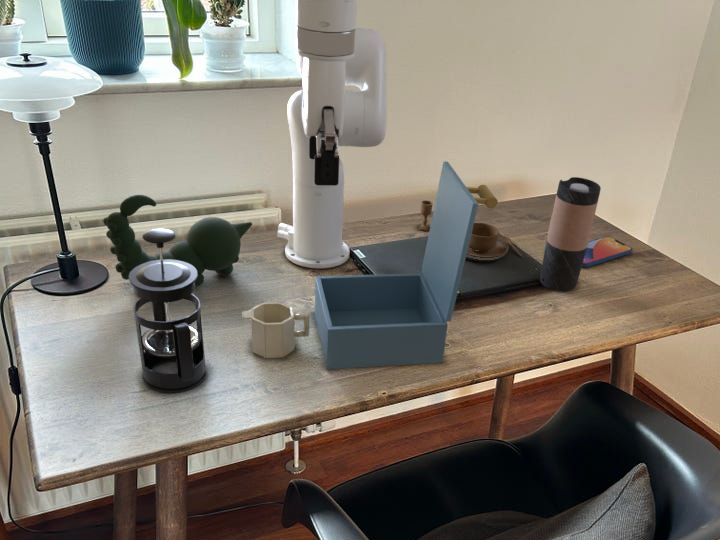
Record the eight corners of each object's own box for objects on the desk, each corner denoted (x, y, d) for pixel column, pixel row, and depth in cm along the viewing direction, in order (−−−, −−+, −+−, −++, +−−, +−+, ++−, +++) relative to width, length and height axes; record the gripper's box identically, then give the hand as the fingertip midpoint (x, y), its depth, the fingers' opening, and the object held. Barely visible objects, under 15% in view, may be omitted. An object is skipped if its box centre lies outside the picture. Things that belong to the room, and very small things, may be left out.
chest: (326, 369, 114) (327, 329, 110) (314, 313, 127) (315, 276, 123) (442, 362, 118) (448, 324, 114) (419, 309, 131) (423, 273, 127)
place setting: (450, 268, 145) (454, 241, 142) (413, 226, 160) (415, 200, 157) (528, 260, 151) (533, 233, 148) (485, 220, 166) (489, 195, 163)
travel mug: (577, 295, 140) (602, 195, 129) (537, 288, 141) (558, 189, 130) (577, 276, 147) (601, 180, 135) (539, 270, 148) (559, 174, 136)
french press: (132, 364, 111) (110, 223, 98) (192, 348, 116) (179, 211, 103) (158, 407, 104) (138, 260, 91) (221, 388, 108) (211, 246, 95)
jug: (245, 359, 115) (243, 325, 111) (243, 336, 120) (242, 303, 116) (311, 355, 117) (311, 322, 113) (306, 333, 122) (307, 300, 119)
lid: (473, 203, 103) (513, 206, 105) (443, 161, 116) (479, 164, 118) (445, 321, 114) (482, 322, 115) (421, 270, 127) (454, 272, 128)
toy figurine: (136, 317, 125) (268, 273, 137) (110, 215, 113) (257, 177, 125) (117, 293, 131) (245, 252, 143) (91, 193, 120) (232, 158, 131)
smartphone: (558, 254, 155) (559, 249, 154) (607, 239, 162) (608, 235, 161) (583, 269, 150) (584, 264, 149) (633, 253, 157) (634, 249, 156)
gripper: (292, 25, 100) (292, 149, 110) (300, 57, 86) (300, 195, 96) (347, 28, 102) (343, 150, 111) (363, 60, 88) (357, 195, 98)
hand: (323, 171), depth 104 cm, fingers open, 9 cm apart
